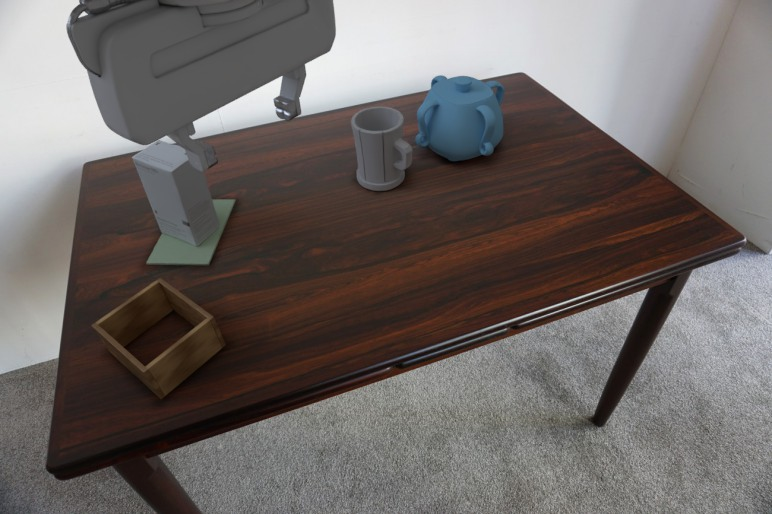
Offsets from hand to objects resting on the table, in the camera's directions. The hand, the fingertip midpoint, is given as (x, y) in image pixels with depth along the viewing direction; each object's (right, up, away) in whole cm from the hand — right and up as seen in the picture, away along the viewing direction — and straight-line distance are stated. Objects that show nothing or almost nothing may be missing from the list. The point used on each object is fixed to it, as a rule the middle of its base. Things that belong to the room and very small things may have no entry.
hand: (249, 139), depth 44 cm
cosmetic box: (-21, -6, +42) cm, 47 cm away
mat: (-21, -6, +43) cm, 48 cm away
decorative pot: (+26, +12, +58) cm, 65 cm away
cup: (+11, +4, +51) cm, 53 cm away
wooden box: (-18, -22, +26) cm, 38 cm away
